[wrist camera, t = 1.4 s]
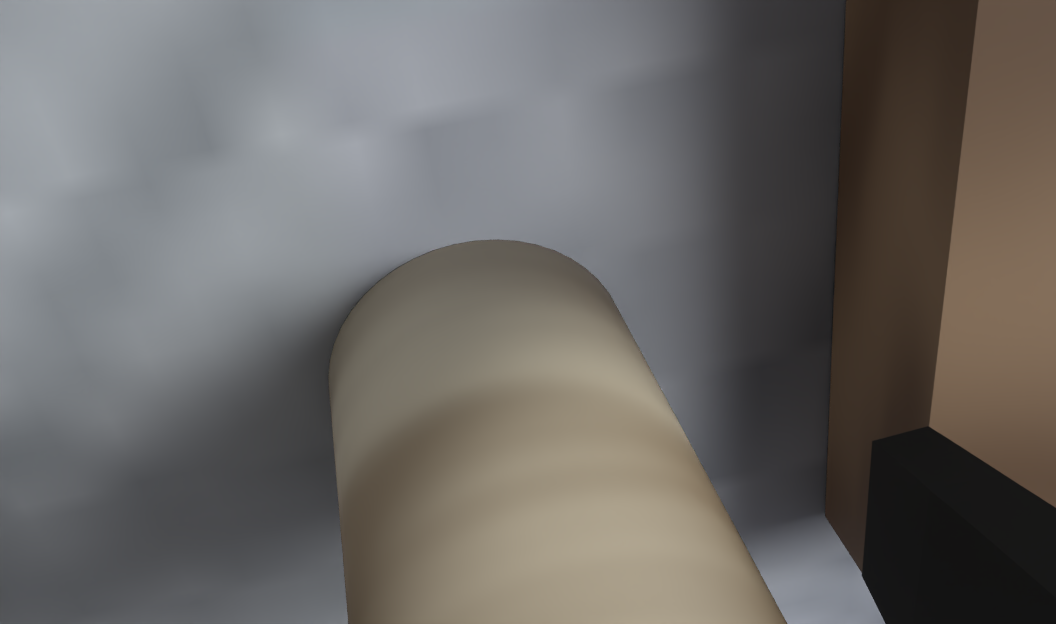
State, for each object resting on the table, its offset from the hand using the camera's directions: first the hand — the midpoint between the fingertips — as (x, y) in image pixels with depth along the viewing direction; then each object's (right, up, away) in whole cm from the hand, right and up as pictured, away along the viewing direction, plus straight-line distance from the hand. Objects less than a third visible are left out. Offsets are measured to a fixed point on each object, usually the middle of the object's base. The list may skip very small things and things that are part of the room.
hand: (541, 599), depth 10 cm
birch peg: (-1, +2, +3) cm, 4 cm away
